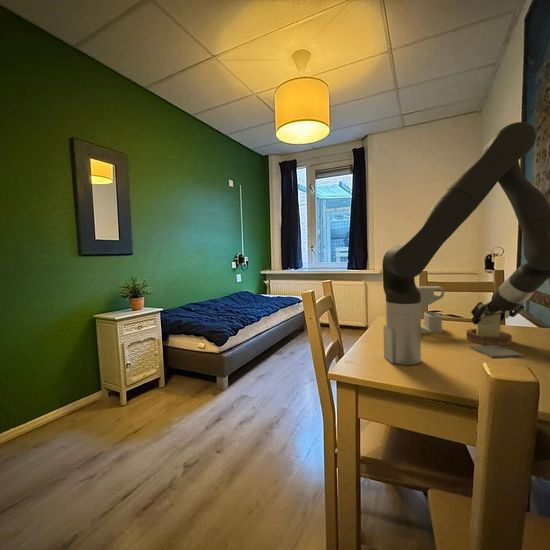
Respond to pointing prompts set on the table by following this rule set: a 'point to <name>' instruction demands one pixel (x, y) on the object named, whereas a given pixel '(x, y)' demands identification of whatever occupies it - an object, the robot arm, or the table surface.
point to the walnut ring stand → (489, 338)
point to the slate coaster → (496, 351)
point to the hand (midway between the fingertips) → (485, 321)
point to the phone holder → (430, 318)
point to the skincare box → (489, 326)
